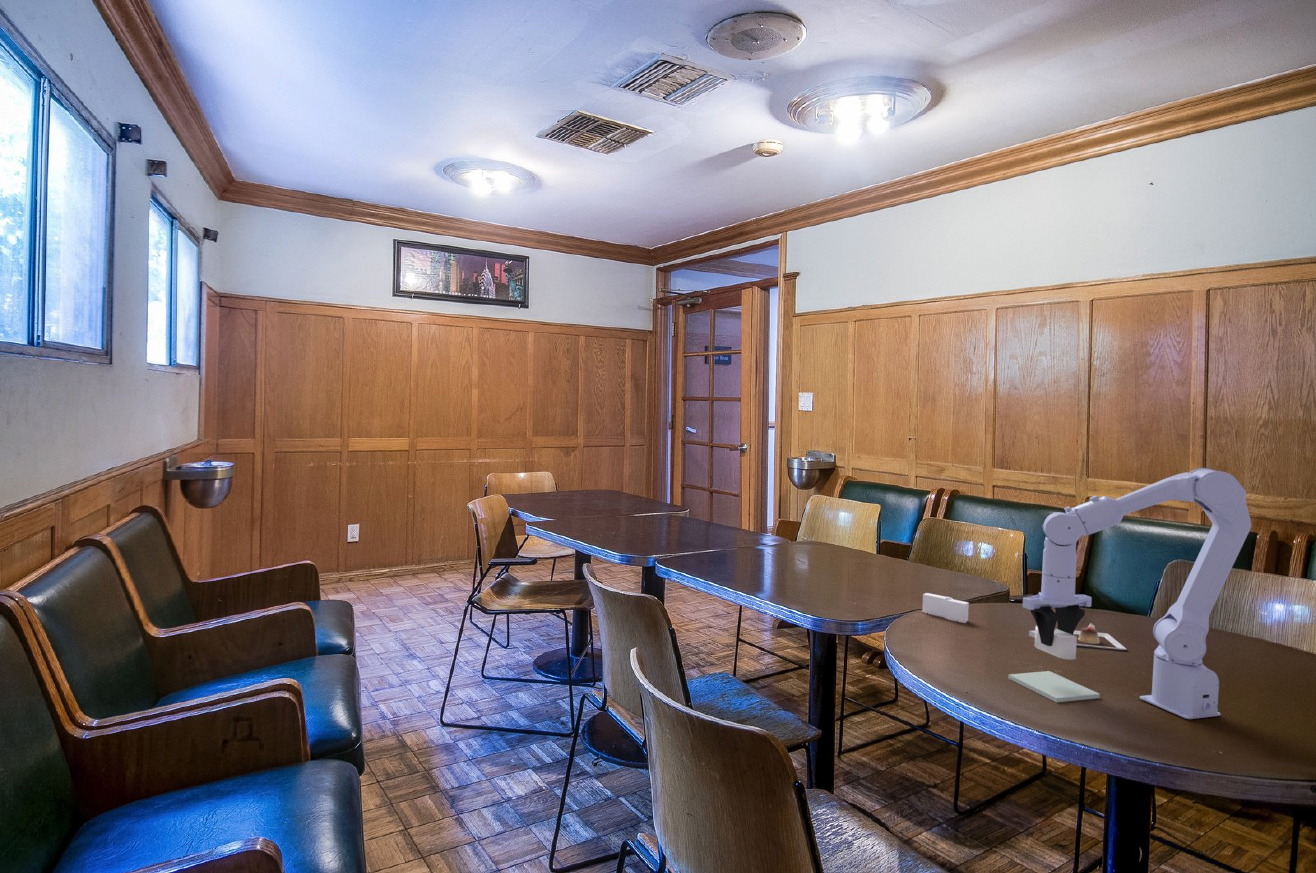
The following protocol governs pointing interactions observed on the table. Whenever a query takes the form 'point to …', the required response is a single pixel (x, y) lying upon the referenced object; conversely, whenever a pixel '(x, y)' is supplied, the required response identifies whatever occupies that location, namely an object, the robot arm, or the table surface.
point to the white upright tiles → (945, 607)
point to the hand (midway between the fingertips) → (1055, 643)
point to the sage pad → (1053, 686)
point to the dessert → (1096, 638)
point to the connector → (1057, 644)
